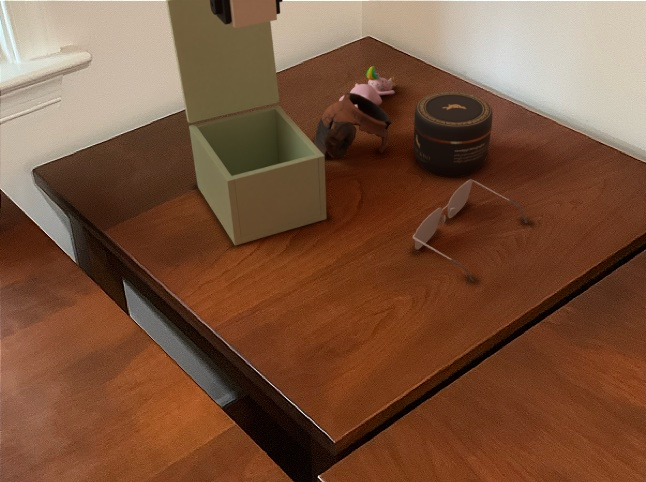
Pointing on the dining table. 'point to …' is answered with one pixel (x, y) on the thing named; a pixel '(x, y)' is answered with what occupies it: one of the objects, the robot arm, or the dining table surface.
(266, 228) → the chest
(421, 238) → the eyeglasses
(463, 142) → the jar
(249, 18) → the block
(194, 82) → the lid
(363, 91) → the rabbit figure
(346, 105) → the brown crumpled piece
